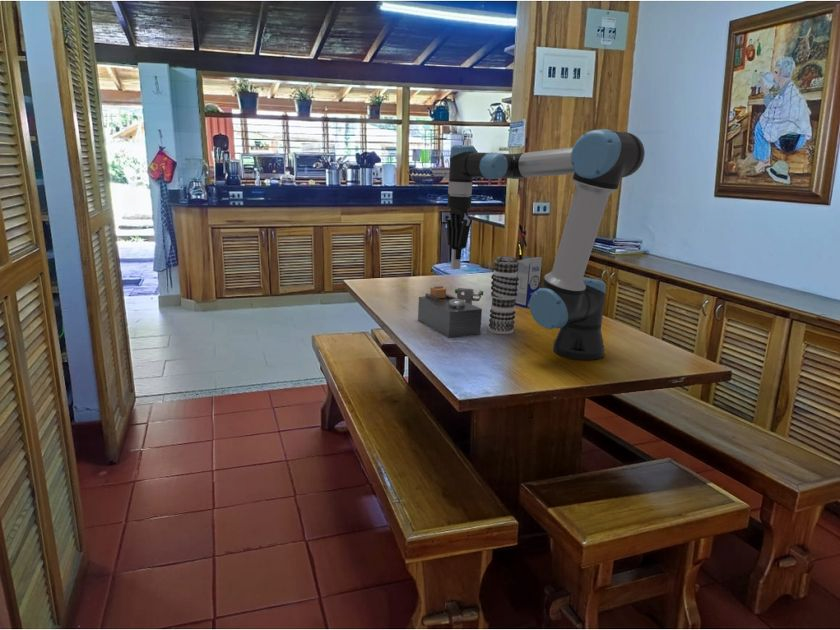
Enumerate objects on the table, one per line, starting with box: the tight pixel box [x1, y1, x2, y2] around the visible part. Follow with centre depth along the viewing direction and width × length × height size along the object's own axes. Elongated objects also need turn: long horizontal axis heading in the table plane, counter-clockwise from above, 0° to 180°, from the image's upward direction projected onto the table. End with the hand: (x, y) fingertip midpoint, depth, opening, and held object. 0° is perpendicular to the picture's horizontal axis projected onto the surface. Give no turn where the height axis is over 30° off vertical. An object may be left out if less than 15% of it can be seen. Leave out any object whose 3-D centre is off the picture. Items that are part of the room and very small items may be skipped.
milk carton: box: [514, 255, 543, 309], centre depth 231 cm, size 7×7×20 cm
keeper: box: [429, 285, 447, 298], centre depth 204 cm, size 4×4×4 cm
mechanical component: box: [454, 287, 484, 305], centre depth 213 cm, size 3×10×10 cm, turn 78°
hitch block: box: [417, 293, 483, 339], centre depth 198 cm, size 22×12×10 cm, turn 27°
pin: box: [449, 299, 465, 308], centre depth 194 cm, size 5×5×10 cm
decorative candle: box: [488, 255, 519, 335], centre depth 194 cm, size 9×9×25 cm
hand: (455, 268), depth 192 cm, fingers closed
